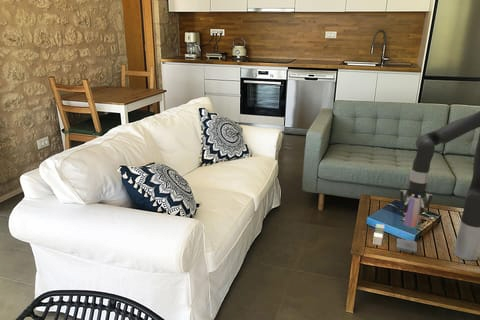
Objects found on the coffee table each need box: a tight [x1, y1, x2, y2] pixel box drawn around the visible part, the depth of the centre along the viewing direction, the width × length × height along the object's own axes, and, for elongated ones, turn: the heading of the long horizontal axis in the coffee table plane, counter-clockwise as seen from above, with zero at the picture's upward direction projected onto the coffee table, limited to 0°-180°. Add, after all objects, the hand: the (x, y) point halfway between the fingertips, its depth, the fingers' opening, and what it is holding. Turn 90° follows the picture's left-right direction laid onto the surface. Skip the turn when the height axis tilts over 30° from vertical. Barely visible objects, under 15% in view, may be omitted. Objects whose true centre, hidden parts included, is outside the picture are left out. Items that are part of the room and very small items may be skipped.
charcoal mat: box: [396, 237, 418, 254], centre depth 189 cm, size 9×9×1 cm
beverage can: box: [403, 197, 421, 229], centre depth 183 cm, size 6×6×15 cm
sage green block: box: [374, 223, 385, 235], centre depth 200 cm, size 4×4×4 cm
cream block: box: [372, 231, 384, 246], centre depth 191 cm, size 4×4×4 cm
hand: (412, 212), depth 183 cm, fingers closed on beverage can, 6 cm apart
